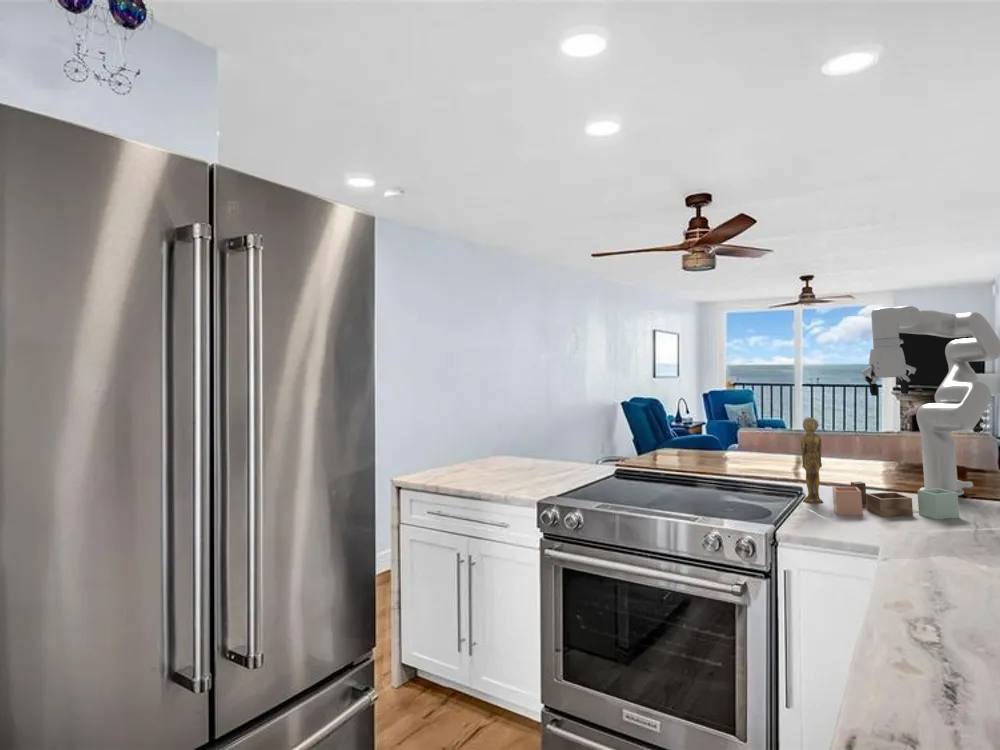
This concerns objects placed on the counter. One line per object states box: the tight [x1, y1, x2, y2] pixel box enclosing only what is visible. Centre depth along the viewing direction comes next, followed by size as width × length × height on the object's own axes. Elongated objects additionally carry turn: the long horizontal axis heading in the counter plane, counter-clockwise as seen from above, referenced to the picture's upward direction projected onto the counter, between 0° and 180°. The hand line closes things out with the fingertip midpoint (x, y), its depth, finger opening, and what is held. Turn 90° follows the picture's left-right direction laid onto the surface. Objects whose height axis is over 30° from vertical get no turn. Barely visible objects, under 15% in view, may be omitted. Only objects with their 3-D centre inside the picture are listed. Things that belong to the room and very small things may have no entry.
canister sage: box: [916, 488, 960, 520], centre depth 183 cm, size 7×7×8 cm
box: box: [866, 491, 914, 518], centre depth 190 cm, size 9×9×6 cm
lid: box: [850, 481, 867, 509], centre depth 203 cm, size 10×10×8 cm
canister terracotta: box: [832, 486, 864, 516], centre depth 194 cm, size 7×7×8 cm
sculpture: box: [800, 417, 824, 505], centre depth 210 cm, size 7×6×30 cm
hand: (889, 394), depth 206 cm, fingers open, 9 cm apart
